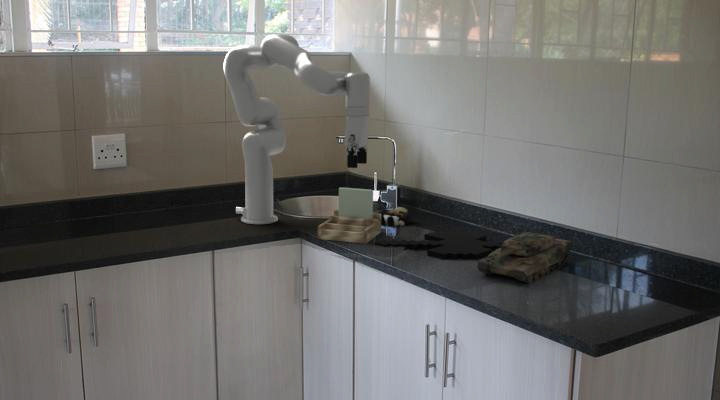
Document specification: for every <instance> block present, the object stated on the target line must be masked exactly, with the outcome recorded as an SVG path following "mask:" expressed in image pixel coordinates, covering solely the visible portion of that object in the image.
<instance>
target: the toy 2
mask: <svg viewBox="0 0 720 400" xmlns="http://www.w3.org/2000/svg"><path fill="white" fill-rule="evenodd" d="M501 243H502V245H501V248H499V249H496V250H495V251H492V253H491V254H489V255H488V256H487V257H484V258H481V259H479V260H478V262H477V266H476V268H477V269H478V271H479V272H481V273H483V274H485V275H490V276H495V275H501V276H508V277H511V278H514V279H515V280H517V281H519V282H521V283H526V284H531V283H534V282H536V281H537V280H540V279H542V278H544V277H546V276H548V275H550V274H552V273H555V272H556V271H558V270H560V269H562V268H564V265H565V264H566V262H567V261H568V258H569V254H568V253H571V252H572V249H573V248H572V245H573V241H572V240H567V239H561V238H556V235H550V234H545V233H540V232H539V233H538V232H533V231H526V232H523V233H520V234H515V235H514V236H513V237H509V238H508V239H505V240H504V241H503V242H501Z"/></svg>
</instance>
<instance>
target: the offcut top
mask: <svg viewBox="0 0 720 400" xmlns="http://www.w3.org/2000/svg"><path fill="white" fill-rule="evenodd" d="M365 219H366V218H359V217H345V216H341V217H340V218H338V224H342V225H354V226H365Z"/></svg>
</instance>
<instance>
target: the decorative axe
mask: <svg viewBox="0 0 720 400" xmlns="http://www.w3.org/2000/svg"><path fill="white" fill-rule="evenodd" d="M487 237H488V236H487V235H483V234H480V233H474V232H470V231H457V230H456V231H447V230H446V231H433V232H432V231H431V232H429V233H425V234H424V239H422V240H415V239H413V240H405V239H401V240H395V239H392V240H386V239H381V240H378V241H374V245H375V246H378V247H382V248H387V247H393V248H398V247H403V248H404V249H403V251H408V250H412V251H418V250H420V251H427V252H426V253H427V254H426V255H427V257H431V258H433V259H439V260H445V261H447V260H449V259H450V260H453V261H456V260H464V261H467V260H473V261H477V260H478V261H479V260H481V259H484V258H486V257H488V255H489V254H491V253H492V252H494V251H495V250H496V249H499V248H501V245H502V243H503V242H499V241H495V240H488V241H487Z"/></svg>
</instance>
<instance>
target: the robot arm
mask: <svg viewBox="0 0 720 400" xmlns="http://www.w3.org/2000/svg"><path fill="white" fill-rule="evenodd" d="M311 60H312V57H311V54H310V52H309V51H308V50H306V49H304V48H302V47H301V46H300V44H299V43H298V40H297V39H296V38H295V37H294V36H292V35H290V34H280V33H279V34H277V33H276V34H269V35H267V36H266V37H265V38H264V39H262V42H261V43H260V44H242V45H237V46H234V47H233V48H231V49H230V50H229V51H228V52H227V53H226V55H225V58H224V61H223V73H224V77H225V80H226V82H227V85H228V87H229V90H230V93H231V97H232V101H233V104H234V108H235V110H236V114H237V119H238V120H239V123H240V124H241V125H242V126H244V127H258V129H253V130H251V131H249V132H247V133H246V134H245V135H244V137H243V138H242V141H241V149H242V154H243V159H244V180H245V181H244V182H245V184H244V186H245V187H244V189H245V190H244V191H245V192H244V193H245V200H244V201H245V206H244V207H240V206H236V207H235V214H241V215H242V216H241V217H240V221H241V222H242V223H244V224H248V225H268V224H274V223H277V222H278V220H279V219H278V216H277V215H274V169H273V163H272V161H271V158H270V156H275V155H278V154H280V153H282V152H283V151H284V150H285V148H286V146H287V136H286V132H285V129H284V125H283V122H282V118H281V115H280V113H279V109H278V107H277V105H276V103H275V102H274V101H273V100H272V99H270V98H269V97H264V96H263V97H260V96H259V94H258V91H257V87H256V84H255V82H254V80H253V79H252V77H251V76H250V74H249V71H262V70H263V71H264V70H268V69H270V68H273V67H275V66H279V67H282V68H283V69H285V70H287V71H288V72H290V73H292V74H294V75H295V77H296V78H297V80H298V81H299V82H300V83H301V84H302V85H304V86H305V87H307V88H308V89H310V90H311V91H313V92H315V93H317V94H319V95H321V96H326V97H330V96H342V95H345V117H346V121H345V132H344V147H345V148H346V151H347V152H346V155H347V158H346V159H347V160H346V161H347V162H346V165H347V166H346V167H347V168H349V169H357V168H358V165H359V164H363V165H364V164H365V165H366V164H367V163H368V161H367V160H368V157H367V156H368V153H367V152H368V148H367V146H368V139H369V138H368V137H369V131H368V130H369V129H368V128H369V127H368V118H370V94H371V93H370V87H371V86H370V85H371V83H370V80H371V79H370V74H368V73H367V72H361V71H360V72H356V71H355V72H349V71H345V70H344V71H341V70H337V71H336V70H332V71H330V70H329V71H327V70H324V69H323V68H320V67H319V66H318V65H315V63H313V62H312V61H311Z"/></svg>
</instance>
